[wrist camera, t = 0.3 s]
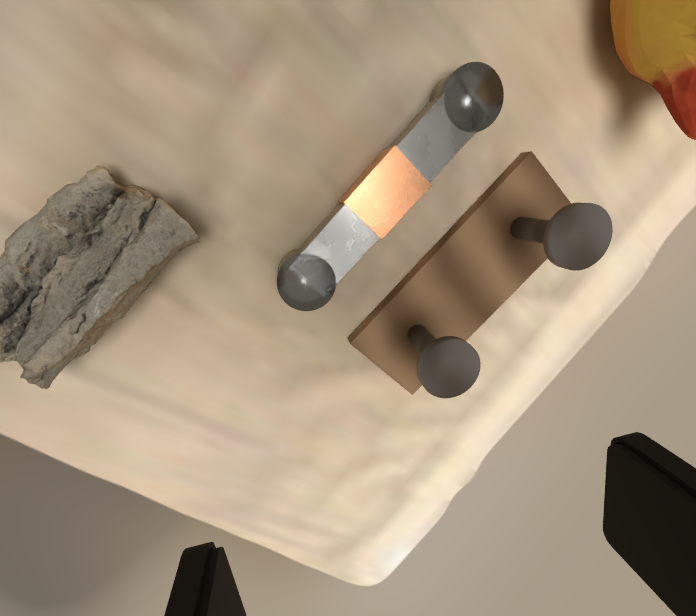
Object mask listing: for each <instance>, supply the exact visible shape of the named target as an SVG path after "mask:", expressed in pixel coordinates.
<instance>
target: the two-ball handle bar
mask: <svg viewBox="0 0 696 616" xmlns="http://www.w3.org/2000/svg"><path fill="white" fill-rule="evenodd" d="M502 104H503V86H502V82H501V80H500V78H499V76H498V74H497V73H496V71H495V70H494V69H493V68H491V67H490V66H489V65H487V64H484V63H481V62H471V63H467V64H465V65H463V66H461V67H460V68H458V69H457V70H455V71H454V72H453V73H451V74H450V75H448V76H447V77H445V78H444V79H443V80H441V81H440V82H439V83H438V84H437V85H436V87H435V88H434V90H433V91H432V94H431V96H430V100H429V103H428V104H427V105H426V106H425V107H424V109H423V110H422V111H421V112H420V113H419V114H418V115H417V116H416V118H415V119H414V120H413V121H412V122H411V123H410V124H409V125H408V127H407V128H406V129H405V130H404V131H403V132H402V133H401V134H400V136H399V137H398V138H397V139H396V140H395V141H394V142H393V143H392V145H391V146H390V147H389V148H387V149H384V150H383V151H382V152H381V153H380V155H379V156H378V157H377V158H376V159H375V160H374V161H373V162H372V164H371V165H370V166H369V167H368V168H367V169H366V170H365V172H364V173H363V174H362V175H361V176H360V177H359V178H358V179H357V181H356V182H355V183H354V184H353V185H352V186H351V187H350V188H349V190H348V191H347V192H346V193H345V194H344V195H343V196H342V197H341V199H340V200H339V201H338V202H339V204H338V205H337V206H336V208H335V209H334V210H333V211H332V212H331V213H330V214H329V215H328V217H327V218H326V219H325V220H324V221H323V222H322V223H321V224H320V226H319V227H318V228H317V229H316V230H315V231H314V232H313V233H312V235H311V236H310V237H309V238H308V239H307V240H306V241H305V242H304V244H303V245H302V246H301V247H300V248H299V249H295V250H293V251H291V252H289V253H288V254H287V255H286V256H285V257H284V258H283V259H282V261H281V262H280V265H279V268H278V275H277V287H278V291H279V294H280V296H281V298H282V299H283V300H284V302H285V303H287V304H288V305H289V306H290V307H292V308H294V309H297V310H301V311H312V310H316V309H318V308H320V307H322V306H324V305H325V304H326V303H327V302H328V301H329V300H330V299H331V297H332V296H333V294H334V291H335V287H336V284H337V283H338V282H339V281H340V280H341V279H342V278H343V277H344V276H345V275H346V273H347V272H348V271H349V270H350V269H351V268H352V267H353V266H354V265H355V264H356V263H357V261H358V260H359V259H360V258H361V257H362V256H363V255H364V254H365V253H366V252H367V251H368V249H369V248H370V247H371V246H372V245H373V244H374V243H375V242H376V241H377V240H378V239H379V238H380V239H382V238H383V237H384V236H385V235H386V234H387V233H388V232H389V231H390V230H391V229H392V228H393V226H394V225H395V224H396V223H397V222H398V221H399V220H400V219H401V218H402V217H403V216H404V214H405V213H406V212H407V211H408V210H409V209H410V208H411V207H412V206H413V205H414V204H415V202H416V201H417V200H418V199H419V198H420V197H421V196H422V195H423V194H424V193H425V192H426V190H427V189H428V188H429V187H430V186H431V184H430V182H431V181H432V180H433V178H434V177H435V176H436V175H437V174H438V173H439V172H440V171H441V170H442V169H443V168H444V166H445V165H446V164H447V163H448V162H449V161H450V160H451V159H452V158H453V157H454V156H455V154H456V153H457V152H458V151H459V150H460V149H461V148H462V147H463V146H464V145H465V144H466V142H467V141H468V140H469V139H470V138H471V137H472V136H473V135H474V134H475V133H476V132H478V131H481V130H484V129H485V128H487V127H488V126H490V125H491V124H492V123H493V122H494V121H495V119H496V118H497V116H498V115H499V113H500V110H501V108H502Z"/></svg>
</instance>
